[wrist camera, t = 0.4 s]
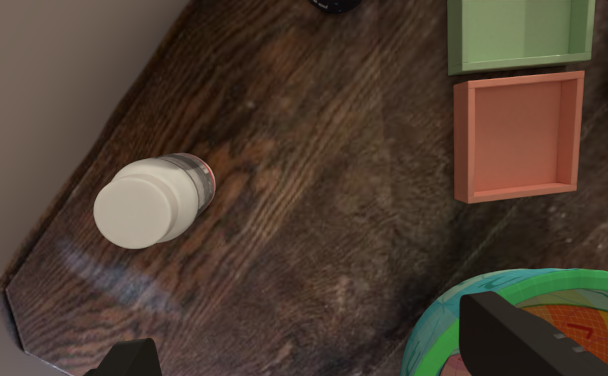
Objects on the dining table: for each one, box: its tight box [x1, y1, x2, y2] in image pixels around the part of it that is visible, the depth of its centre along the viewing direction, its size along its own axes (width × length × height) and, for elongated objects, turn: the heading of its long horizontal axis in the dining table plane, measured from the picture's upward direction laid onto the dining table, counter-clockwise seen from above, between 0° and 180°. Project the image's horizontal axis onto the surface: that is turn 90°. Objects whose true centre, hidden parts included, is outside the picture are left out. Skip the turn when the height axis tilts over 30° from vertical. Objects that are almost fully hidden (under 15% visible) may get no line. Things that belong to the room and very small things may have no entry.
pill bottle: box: [94, 153, 215, 249], centre depth 21 cm, size 5×5×10 cm
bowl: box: [399, 268, 608, 376], centre depth 26 cm, size 22×22×10 cm
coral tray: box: [454, 71, 585, 204], centre depth 27 cm, size 10×10×2 cm
